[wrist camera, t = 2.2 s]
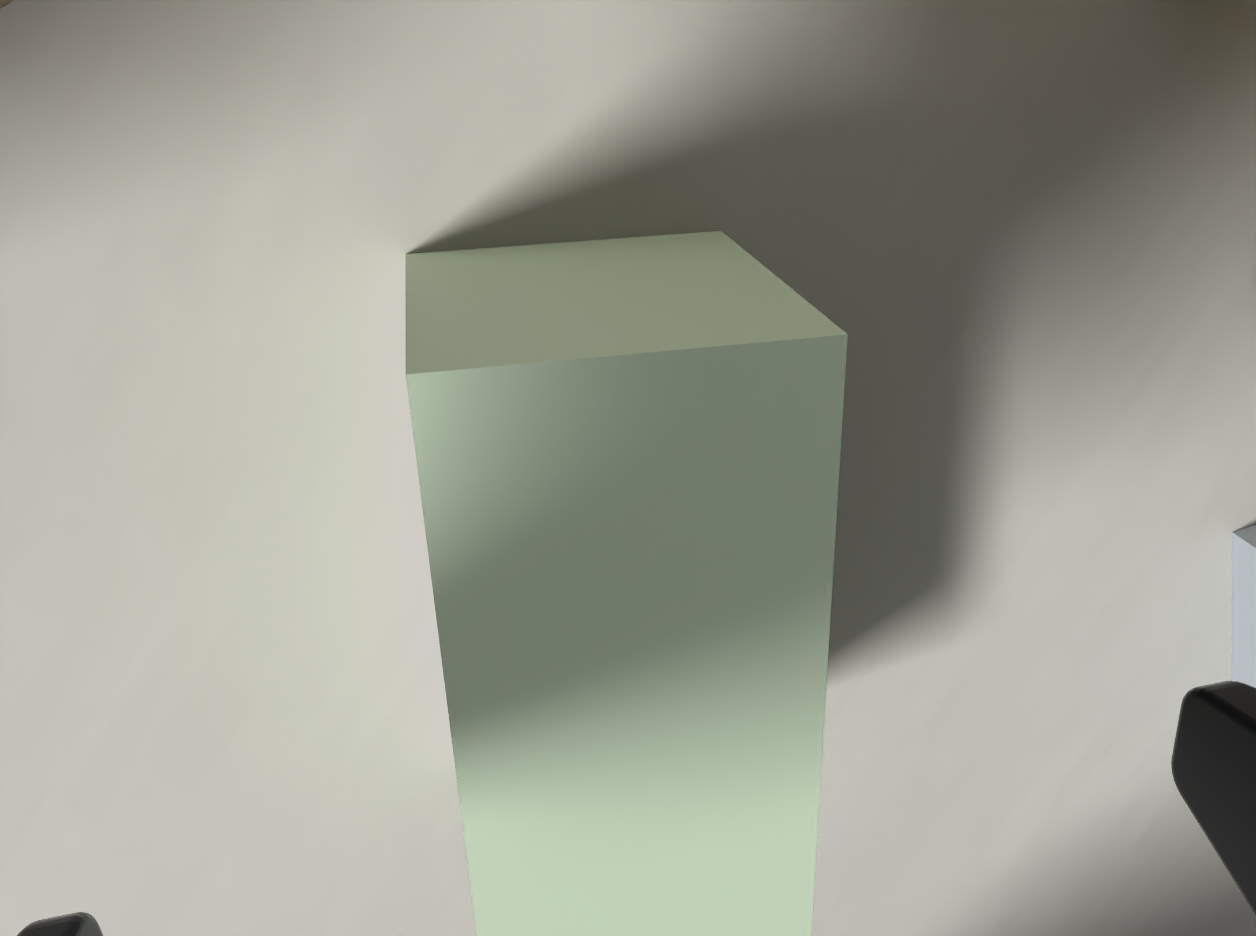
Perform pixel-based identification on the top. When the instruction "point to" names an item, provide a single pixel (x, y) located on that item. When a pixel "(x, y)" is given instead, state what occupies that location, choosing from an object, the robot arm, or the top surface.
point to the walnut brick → (4, 2)
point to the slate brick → (1244, 606)
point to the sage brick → (630, 577)
